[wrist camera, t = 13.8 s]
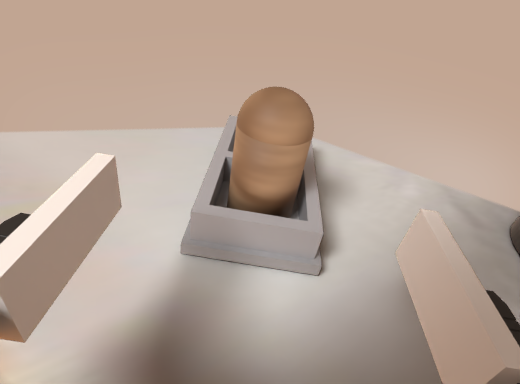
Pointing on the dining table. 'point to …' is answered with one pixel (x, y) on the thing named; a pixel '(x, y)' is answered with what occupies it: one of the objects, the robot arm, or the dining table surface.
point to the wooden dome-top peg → (270, 152)
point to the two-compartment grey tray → (254, 220)
